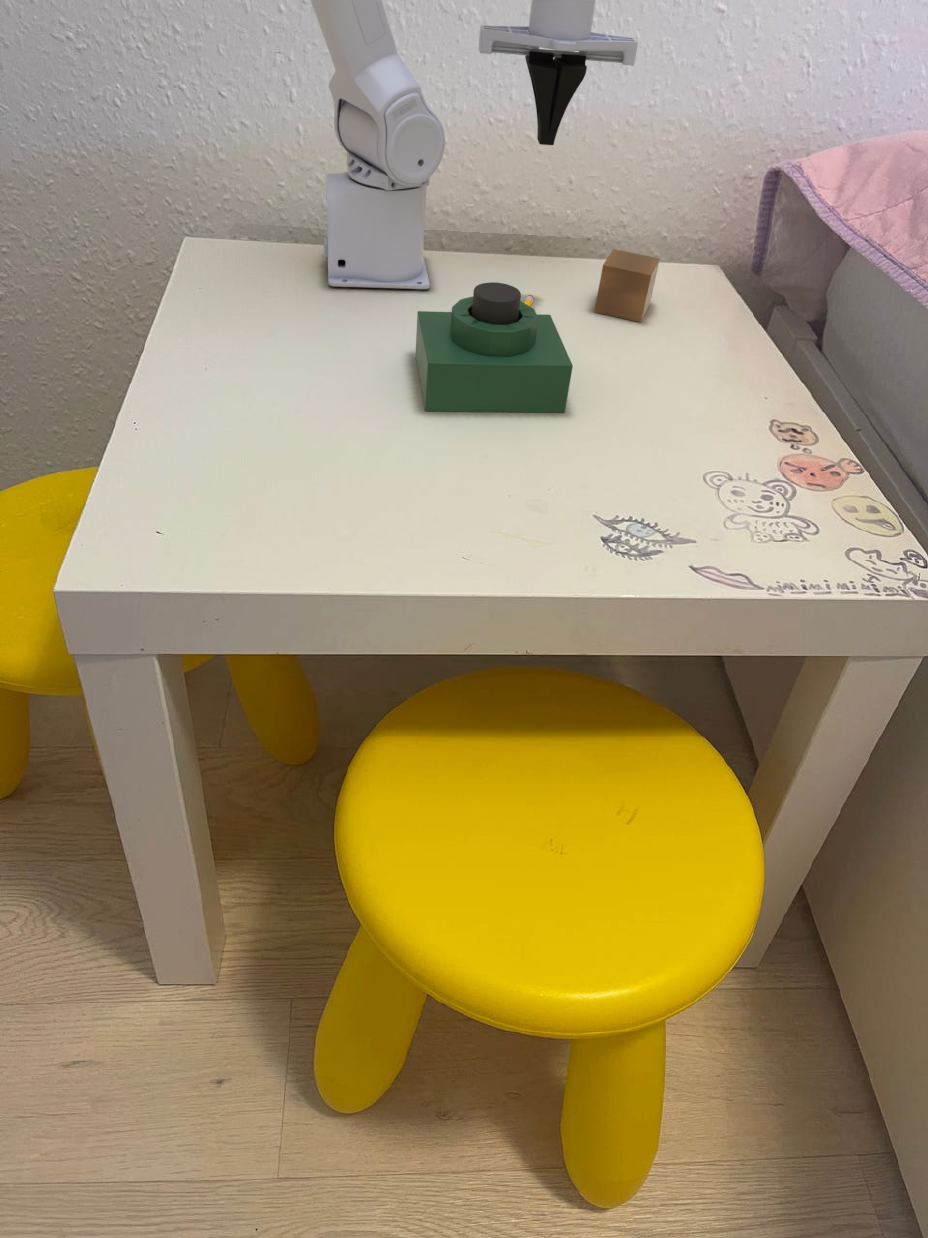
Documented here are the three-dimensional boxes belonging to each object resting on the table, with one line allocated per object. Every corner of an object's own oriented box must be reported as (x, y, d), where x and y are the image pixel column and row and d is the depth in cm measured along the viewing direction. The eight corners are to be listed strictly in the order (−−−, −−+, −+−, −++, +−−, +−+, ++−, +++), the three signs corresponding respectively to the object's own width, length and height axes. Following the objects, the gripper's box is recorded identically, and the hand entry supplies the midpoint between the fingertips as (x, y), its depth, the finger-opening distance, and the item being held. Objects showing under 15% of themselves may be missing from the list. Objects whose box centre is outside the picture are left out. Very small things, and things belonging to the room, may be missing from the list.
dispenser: (424, 411, 70) (429, 337, 66) (415, 356, 77) (418, 286, 73) (564, 412, 72) (577, 340, 68) (543, 359, 79) (553, 290, 75)
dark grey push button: (474, 327, 69) (477, 300, 68) (468, 306, 72) (470, 281, 70) (521, 328, 70) (524, 302, 68) (513, 308, 72) (517, 282, 71)
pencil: (534, 302, 88) (534, 295, 88) (516, 339, 82) (516, 331, 81) (525, 301, 88) (526, 294, 88) (507, 337, 82) (508, 330, 81)
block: (594, 312, 87) (602, 264, 84) (604, 295, 90) (613, 248, 87) (640, 322, 86) (651, 274, 83) (649, 304, 89) (660, 258, 86)
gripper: (489, -25, 78) (475, 148, 87) (656, -10, 79) (624, 159, 89) (483, -37, 83) (470, 127, 92) (639, -23, 85) (611, 138, 94)
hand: (545, 141), depth 91 cm, fingers closed
